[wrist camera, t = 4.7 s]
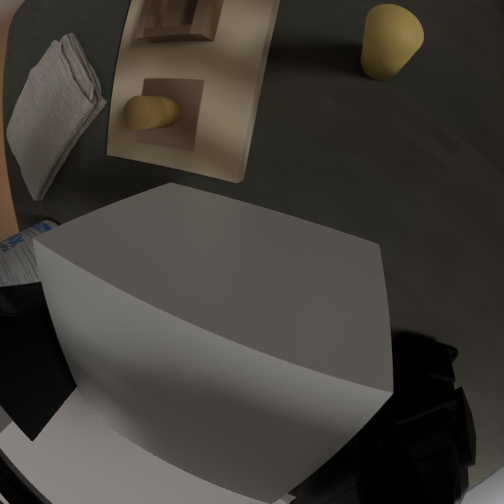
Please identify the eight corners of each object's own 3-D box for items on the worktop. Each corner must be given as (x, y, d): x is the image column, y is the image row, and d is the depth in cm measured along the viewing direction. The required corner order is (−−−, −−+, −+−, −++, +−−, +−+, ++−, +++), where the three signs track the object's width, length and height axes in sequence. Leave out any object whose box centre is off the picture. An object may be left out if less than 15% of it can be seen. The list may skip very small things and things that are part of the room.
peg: (394, 86, 14) (420, 62, 8) (357, 74, 14) (361, 43, 8) (400, 53, 12) (425, 15, 6) (363, 42, 13) (369, -3, 7)
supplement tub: (55, 203, 27) (-47, 255, 15) (93, 271, 29) (-2, 343, 17) (35, 238, 32) (-43, 284, 19) (67, 294, 34) (-7, 351, 21)
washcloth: (117, 97, 20) (91, 98, 18) (47, 202, 29) (28, 210, 26) (77, 28, 18) (55, 25, 15) (18, 135, 27) (0, 139, 24)
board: (243, 180, 19) (213, 195, 15) (116, 152, 22) (75, 162, 18) (286, -27, 12) (266, -60, 8) (146, -15, 14) (109, -30, 10)
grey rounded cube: (309, 390, 10) (271, 503, 6) (164, 332, 12) (90, 412, 7) (378, 244, 7) (393, 393, 3) (171, 182, 9) (32, 237, 4)
